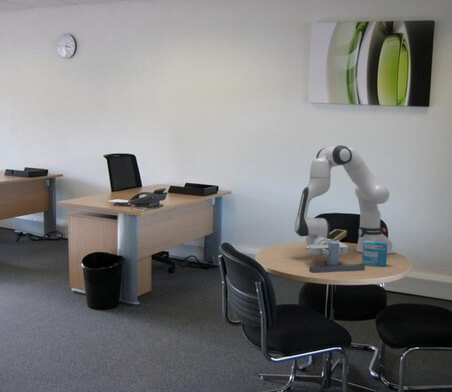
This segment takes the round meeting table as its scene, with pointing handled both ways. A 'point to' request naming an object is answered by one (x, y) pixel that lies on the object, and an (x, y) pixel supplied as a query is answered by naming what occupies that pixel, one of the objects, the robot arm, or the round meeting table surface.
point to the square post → (333, 253)
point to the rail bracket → (336, 267)
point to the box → (337, 234)
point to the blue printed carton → (374, 253)
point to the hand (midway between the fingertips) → (334, 252)
